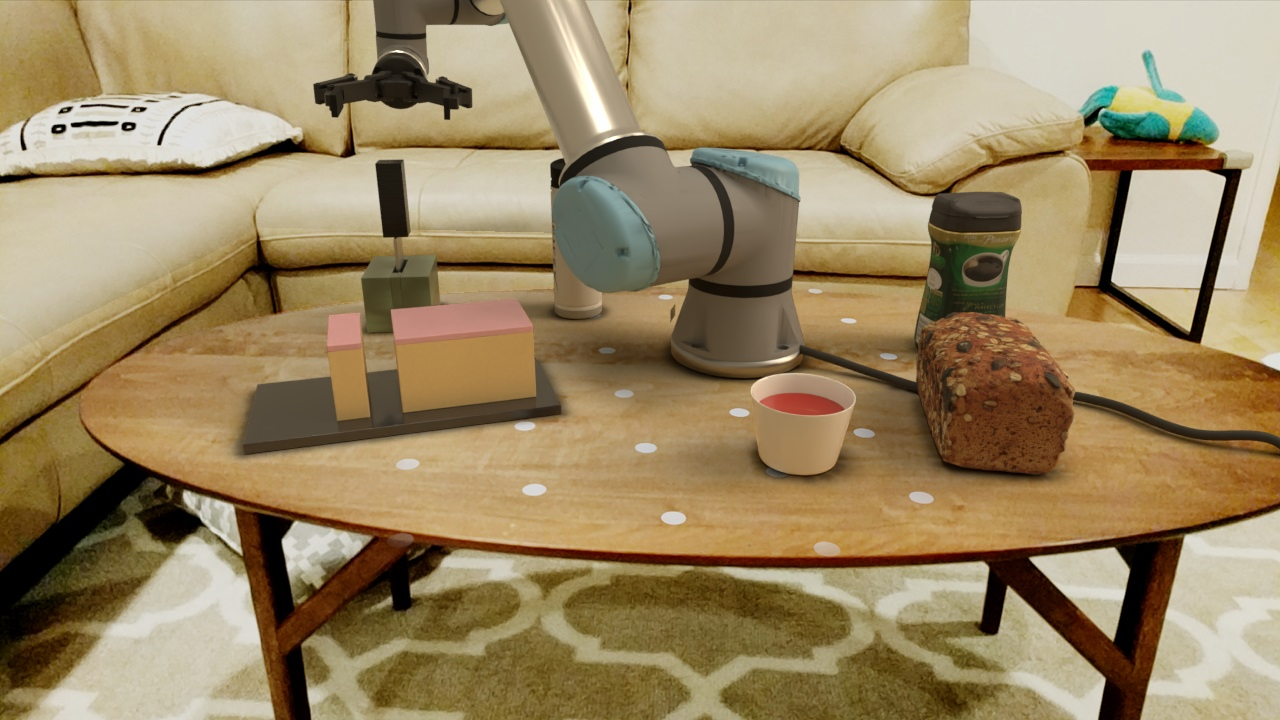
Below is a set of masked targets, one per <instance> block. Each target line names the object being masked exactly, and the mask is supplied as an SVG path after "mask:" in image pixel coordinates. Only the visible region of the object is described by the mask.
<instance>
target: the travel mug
mask: <svg viewBox="0 0 1280 720" xmlns="http://www.w3.org/2000/svg"><path fill="white" fill-rule="evenodd" d="M565 165H566V163H565V160H564V158H563V157H562V158H561V157H560V158H557V159H555V160H553V161H551V162H550V165H549V168H550V169H549V170H550V173H549V175H550V190H551V191H550V212H551V214H550V215H551V217H552V207H553V202H554V197H555V195H556V193H557V191H558V189H559V188H560V187H559V177H560V175H561V173H562V171H563V169H564V167H565ZM555 229H556V225H555V223H554V222H553V220H552V219H551V236H552V237H551V239H552V240H551V243H552V271H553V273H552V274H553V299H554V304H553V305H554V313H555V315H557V316H559V317H560V318H564V319H568V320H569V319H571V320H587V319H591V318H594V317H597V316H599V315H600V314H601V313H602V312H603V293H602V292H598V291H596V290H595V289H593V288H590V287H587V286H586V285H584V284H583V283H582V282H581V281H580V280H579V279H577V277H576V276H575V275H574V274H573V273H572V272H571V270H570V269H569V267H568V266H567V264H566V263H565V261H564V259H563V257H562V255H561V253H560V250H559V248H558V245H557V242H556V238H555V234H554V230H555Z"/></svg>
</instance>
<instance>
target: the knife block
mask: <svg viewBox="0 0 1280 720" xmlns="http://www.w3.org/2000/svg"><path fill="white" fill-rule="evenodd" d="M403 256H404V266H405V268H404V270H403V272H402V273H397V271H396V261H395V255H379V256H378V255H377V256H376V255H375V256H373V257H372V259H371V260H370V263H368V266H367V268H366V269H365V270H364V272H363V274H362V276H361V278H360V282H361V289H362V290H361V291H362V299H363V306H364V314H365V322H366V323H365V324H366V332H367V333H368V334H370V333H371V334H373V333H393V327H392V318H391V310H392V309H404V308H415V307H426V306H437V305H441V296H440V283H439V273H438V272H439V271H438V261H437V260H438V259H437V254H414V255H413V254H411V255H408V254H407V255H403Z"/></svg>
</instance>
